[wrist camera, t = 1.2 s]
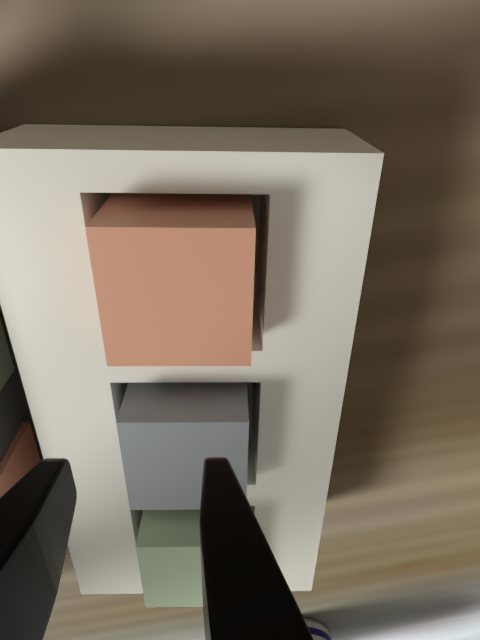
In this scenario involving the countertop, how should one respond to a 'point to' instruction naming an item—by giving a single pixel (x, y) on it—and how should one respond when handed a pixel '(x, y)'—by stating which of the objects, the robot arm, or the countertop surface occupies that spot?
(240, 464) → the slate key
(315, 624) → the energy drink
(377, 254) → the countertop surface
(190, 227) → the terracotta key
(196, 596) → the sage key
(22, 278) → the keypad housing
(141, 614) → the countertop surface
